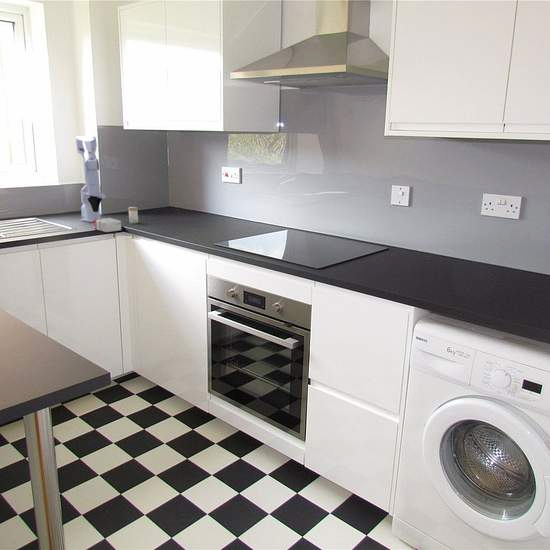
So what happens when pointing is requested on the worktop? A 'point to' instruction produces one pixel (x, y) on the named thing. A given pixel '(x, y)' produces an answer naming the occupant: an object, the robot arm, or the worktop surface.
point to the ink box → (107, 225)
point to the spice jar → (133, 215)
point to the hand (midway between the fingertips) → (95, 211)
